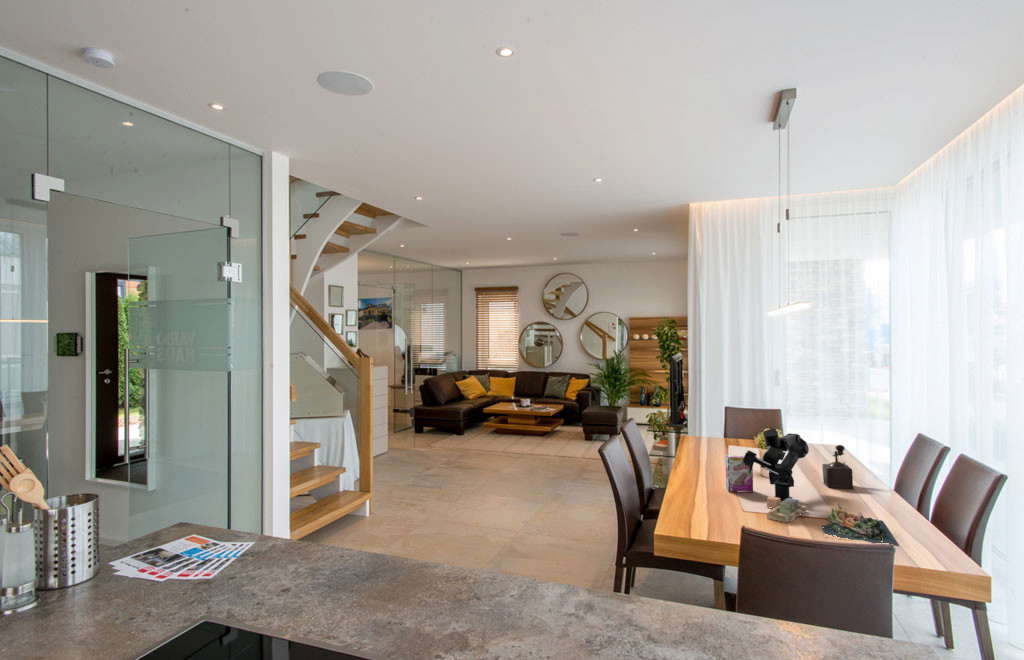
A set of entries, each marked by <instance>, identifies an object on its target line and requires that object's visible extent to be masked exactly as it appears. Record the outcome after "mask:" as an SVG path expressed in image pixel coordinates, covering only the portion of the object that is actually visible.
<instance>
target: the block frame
mask: <svg viewBox="0 0 1024 660" xmlns="http://www.w3.org/2000/svg"><path fill="white" fill-rule="evenodd" d="M804 511H806V512H807V506H806V505H801V504H800V503H799V499H795V498H793V499H791V498H787V499H785V500H784V501H782V500H781V501H780V503H779V506H778V507H776V508H774V509H771V510H769V511H767V512H766V519H768V520H772V519H773V521H776V520H778V521H777V522H781V521H782V522H783V523H786V522H787V524H790V523H791V522H793V521H794V520H795V519H797V518H798V517H800V516H801V515H802V514H801V513H803V512H804ZM804 513H805V512H804ZM804 513H803V514H804ZM800 514H801V515H800ZM799 515H800V516H799ZM796 517H797V518H796ZM793 519H794V520H793ZM790 521H791V522H790ZM782 522H781V523H782Z"/></svg>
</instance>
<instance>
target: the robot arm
mask: <svg viewBox="0 0 1024 660" xmlns="http://www.w3.org/2000/svg"><path fill="white" fill-rule="evenodd" d="M762 434H763V439H764V442H765V446H766V447H767V448H766V451H765V452H764V454H763V455H762V459H761V458H759V457H757V455H758V454H757V453H756V452H754V451H752V450H750V449H749V450H746V452H745V454H744V455H745V456H744V459H743V463H745V465H747V467H748V470H749V474H750V473H751V470H752V467H754V464H757V465H759V466H760V468H762V469H764V470H766V471H768V479H769V484H770V485H772V486H773V485H774V496H773V497H777V498H780V501H782V500H785V499H787V498H791V499H792V498H793V499H794V497H793V496H790V488H792V487H793V488H794V486H795V480H794V479H795V478H794V477H793V468H794V467H795V465H796V463H797V462H798V460H799V459H804V458H805V457H806V456H807V455H808V454H809V452H810V449H809V446H808V442H807V441H806V440H804V439H803V438H802V437H801V435H800V434H798V433H787V434H786V435H783V436H781V437H779V432H778V430H777V429H776V428H770V429H767V430H764V431H763V433H762ZM786 452H787V454H786ZM779 461H781V462H780V463H779Z"/></svg>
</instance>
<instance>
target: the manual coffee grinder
mask: <svg viewBox="0 0 1024 660" xmlns="http://www.w3.org/2000/svg"><path fill="white" fill-rule="evenodd" d="M845 449H846V448H845V446H844V445H841V444H838V445H836V446H835V450H836V451H834V454H832V457H835V459H834V460H835V461H833V462H830V463H822V466H821V467H822V478H823V484H824V485H825V486H826V487H827V488H829V489H840V490H841V489H842V490H843V489H844V490H854V483H853V482H854V481H853V477H854V476H853V469H852V468H851V467H850V466H849V465H848V464H846V462H845V461H844V462H841V461H838V459H839V458H838V457H839V456H840V457H842V456H843V455H845V454H844V451H845Z"/></svg>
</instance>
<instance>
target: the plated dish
mask: <svg viewBox="0 0 1024 660" xmlns="http://www.w3.org/2000/svg"><path fill="white" fill-rule="evenodd" d="M837 507H838V508H833V507H832V508H831V509H832V510H831V512H830V514H829V515H828V516H826V520H827V521H828V522H829V523H827V524H825V525H824V524H823V525H821V530H822V533H823V532H824V533H825V534H828V535H832V536H833V535H836V536H837V537H840V538H848V539H851V540H850V541H852V540H853V541H855V540H856V541H864V542H867V543H872V544H876V543H889V544H893V545H892V546H897V547H900V545H899V542H898V541H897V540H896V539H895V537H894V535H893V534H892V533H891V531H890V529H889V528H888V526H887V525H886V523H885V522H884V521H883V520H881V519H877V518H876V519H874V518H872V517H864V515H863V513H861V512H860V511H859V512H858V513H857V515H856V514H852V513H851V512H848V511H847V510H846V508H843V507H842V506H840V502H839V501H837ZM822 527H824V528H822ZM824 533H823V534H824ZM833 537H834V536H833ZM881 541H883V542H881Z"/></svg>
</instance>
